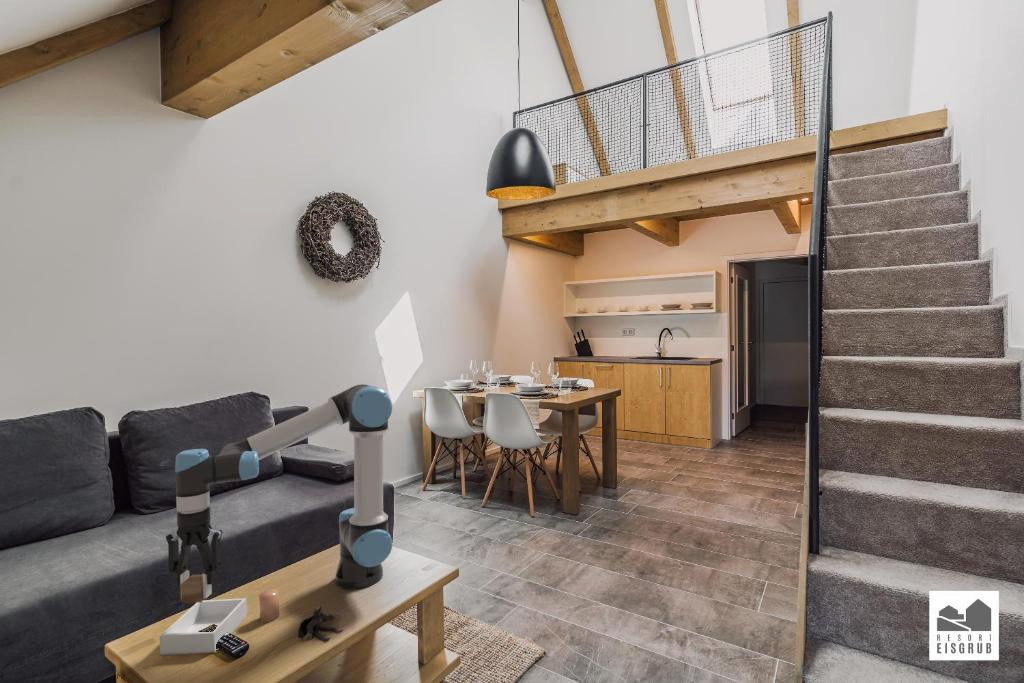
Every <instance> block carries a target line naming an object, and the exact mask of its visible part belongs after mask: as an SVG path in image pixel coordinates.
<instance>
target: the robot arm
mask: <svg viewBox="0 0 1024 683" xmlns="http://www.w3.org/2000/svg"><path fill="white" fill-rule="evenodd" d="M392 411H393V403H392V400H391V397H390V396H389V394H387V392H385V390H383V389H382V388H380V387H377V386H372V385H369V384H363V383H362V384H356V385H354V386H351V387H349V388H347V389H346V390H343V391H341V392H340V393H339V392H338V393H337V394H336V395H333V396H331V397H329V398H328V400H327V402H326V403H323V404H321V405H318V406H316V407H313V408H312V409H310V410H307V411H305V412H302V413H301V414H298V415H295V416H294V417H292V418H289V419H287V420H285V421H282V422H279V423H278V424H276V425H274V426H272V427H269V428H267V429H264V430H263V431H262V430H261V432H257V433H256V434H253V435H251V436H249V437H247V438H245V439H243V440H242V439H241V441H237V442H231V443H228V444H226V445H225V446H223V447H222V449H221V450H220V453H219V454H218V455H217V454H216V455H210V454H209V450H208V449H206V448H193V449H186V450H183V451H181V452H179V453H177V455H176V456H175V465H174V467H175V468H174V469H175V470H174V472H175V473H174V475H175V490H176V491H175V492H176V495H175V496H176V497H175V499H176V511H177V513H176V525H177V529H176V531H171V533H169V534H167V535H166V536H165V539H166V542H167V544H168V572H169V573H175V574H176V576H177V577H176V579H177V580H176V581H177V586H178V587H181V584H182V583H183V582H184V581H186V580H187V579H188V578H189V577H190V569H189V570H188V567H187V566H188V561H189V557H190V553H191V548H192V546H196V549H197V550H198V552H199V554H200V558H201V561H202V566H203V568H204V572H203V573H202V574H201V575H202V576H203V599H204V600H207V598H208V597H209V596H210V595H212V593H213V590H212V589H213V588H212V587H211V586H212V584H213V583H214V582H215V571H217V570H218V569H219V568H221V566H222V564H223V563H222V543H221V542H222V535H223V530H222V529H218V530H216V529H213V527H212V526H211V507H210V505H211V498H210V497H211V496H210V492H211V491H210V490H211V488H210V486H211V485H214V484H215V485H216V484H221V483H222V484H223V483H231V482H239V481H246V480H250V479H254V478H257V477H258V476H259V473H260V468H259V467H260V464H259V463H260V462H259V461H260V460H262V459H264V458H266V457H268V456H271V455H272V454H275V453H277V452H279V451H281V450H284V449H286V448H288V447H290V446H292V445H294V444H297V443H298V442H301V441H303V440H305V439H307V438H309V437H312V436H314V435H316V434H318V433H320V432H322V431H324V430H327V429H328V428H330V427H333V426H336V425H341V426H342V425H345V424H346V423H348V431H349V433H350V434H351V435H352V436H353V442H354V445H353V447H354V449H353V452H354V454H353V458H354V460H353V462H354V463H353V464H354V465H353V466H354V467H353V469H354V470H353V471H354V472H353V473H354V474H353V478H354V479H353V480H354V481H353V483H354V486H353V487H354V490H353V494H354V498H353V499H354V504H353V506H354V507H352V508H348V509H345V510H343V511H341V512H340V514H339V516H338V518H339V520H338V527H339V550H340V551H339V552H340V553H339V554H340V555H339V556H340V558H339V562H338V564H337V568H336V571H335V577H334V578H335V584H336V586H338V587H339V588H341V589H342V588H343V589H347V590H354V589H355V590H356V589H361V588H366V587H369V586H372V585H375V584H377V582H379V581H380V580H382V578H383V577H384V567H383V565H382V563H384V562H385V561H386V559H387V558H388V557H389V555H390V554H391V552H392V550H393V540H392V537H391V534H390V533H389V515H388V514H387V513H386V512H384V434H385V433H386V432H387V431H388V430H389V419H390V417H391V415H392ZM209 536H210V540H211V542H209V539H208V537H209ZM179 539H180V540H181V544H179V543H180V542H179ZM209 543H211V545H210V544H209ZM179 545H180V547H179ZM209 545H210V546H211V547H210V546H209ZM210 548H211V549H210ZM179 551H180V552H179Z"/></svg>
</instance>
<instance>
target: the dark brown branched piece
mask: <svg viewBox="0 0 1024 683" xmlns="http://www.w3.org/2000/svg"><path fill="white" fill-rule="evenodd" d="M338 616H339V613H338V612H337V611H333V612H332V613H330V614H328V615H327V613H324V609H323V608H322V607H321V606H318V607H315V608H314V609H313V611H312V613H311V615H310V616H309V617H308V618H305V619H303V620H302V621H301V623H300V624H299V627H298V631H297V635H298V638H301V639H302V641H303V642H305V643H306V642H307V641H310V640H312V638H313V637H315V638H316V639H318V640H321V641H323V642H325V641H329V640H330V639H331V636H330V635H324V634H322V633H321V632H331V633H334V634H336V633H341V632H342V631H343V630H344V629H343V628H341V627H340V628H338V627H335V626H333V625H332V626H331V625H329V626H327V623H328V622H331V621H334V620H335V619H337V617H338ZM322 623H324V624H322Z"/></svg>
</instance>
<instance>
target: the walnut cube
mask: <svg viewBox="0 0 1024 683" xmlns="http://www.w3.org/2000/svg"><path fill="white" fill-rule="evenodd" d="M211 587H212V585H211ZM203 600H205V599H203V576H202V574H192V575H189V578H188V579H187V580H186V581H184V582H183V583H182V584H181V586H180V601H181V604H188V603H189V604H192V603H194V604H196V603H197V602H202V601H203Z"/></svg>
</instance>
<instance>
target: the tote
mask: <svg viewBox="0 0 1024 683" xmlns="http://www.w3.org/2000/svg"><path fill="white" fill-rule="evenodd" d="M247 616H248V598H247V597H245V598H225V599H204V600H203V601H202V602H196V603H194V605H192V606H191V607H190V608H189V609H188V610H187V611H186V612H185V613H183V614H182V615H181V616H180V617H179V618H178V619H177V620H176V621H175V622H174V623H172V624H171V625H170V626H169V627H168V628H167V629H166V630H165V631H163V633H161V634H160V635H159V651H160V652H159V653H160V655H159V656H173V655H174V656H175V655H193V654H196V655H198V654H212V653H216V652H217V651H216V650H218V649H216V644H217V642H218V640H219V639H220V638H221V637H222V636H223V635H224V634H225V633H227V632H228V633H231V634H233V633H234V631H235V630H236V629H237V628H238V626H240V624H241V623H243V621H244V620H245V619H246V618H247ZM212 624H215V625H218V626H217V627H216V629H215V630H214V631H213V632H198V631H199V630H201V629H204V628H206V627H208V626H209V625H212Z"/></svg>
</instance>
